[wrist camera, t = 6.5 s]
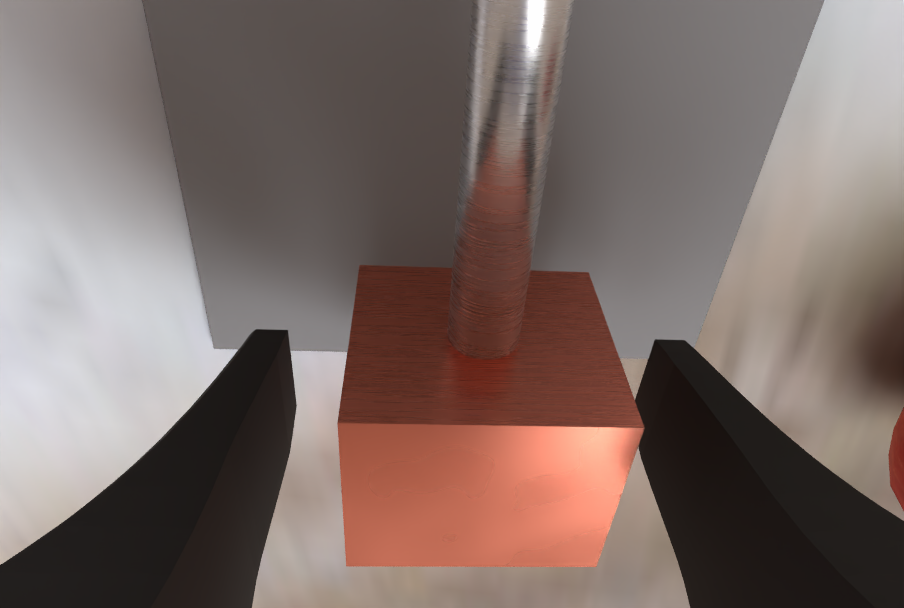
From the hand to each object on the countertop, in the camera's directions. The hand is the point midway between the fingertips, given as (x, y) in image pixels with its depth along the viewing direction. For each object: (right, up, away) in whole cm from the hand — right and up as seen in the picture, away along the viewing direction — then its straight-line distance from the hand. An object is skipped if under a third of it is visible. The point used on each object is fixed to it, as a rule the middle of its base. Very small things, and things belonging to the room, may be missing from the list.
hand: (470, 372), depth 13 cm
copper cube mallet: (0, +6, -3) cm, 7 cm away
